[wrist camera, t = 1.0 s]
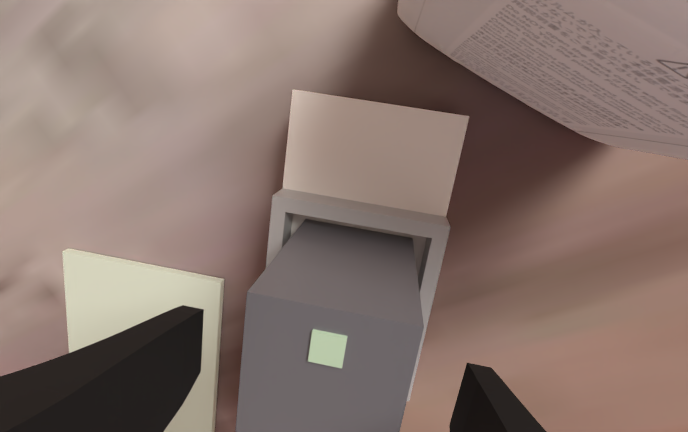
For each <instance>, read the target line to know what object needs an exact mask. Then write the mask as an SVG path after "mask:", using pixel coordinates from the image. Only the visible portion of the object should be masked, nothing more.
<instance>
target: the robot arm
mask: <svg viewBox="0 0 688 432" xmlns="http://www.w3.org/2000/svg"><path fill="white" fill-rule="evenodd" d="M203 314H204V309H199V308H194V307H189V306H184V305H182V306H179V307H176V308H174V309H171V310H169V311H167V312H164V313H162V314H160V315H158V316H155V317H153V318H151V319H149V320H147V321H144V322H142V323H140V324H138V325H135V326H133V327H131V328H129V329H126V330H124V331H122V332H120V333H117V334H115V335H113V336H110V337H108V338H106V339H103V340H101V341H98V342H96V343H93V344H91V345H88V346H86V347H83V348H81V349H78V350H76V351H73V352H71V353H68V354H66V355H63V356H61V357H58V358H55V359H52V360H50V361H47V362H44V363H41V364H38V365H35V366H32V367H29V368H26V369H23V370H20V371H17V372H14V373H11V374H7V375H4V376H1V377H0V432H164V430H165V429H166V427H167V426H168V425H169V423H170V422H171V420H172V419H173V418H174V416H175V415H176V413H177V412H178V411H179V409H180V408H181V406H182V405H183V403H184V401H185V400H186V398H187V396H188V394H189V393H190V391H191V389H192V387H193V385H194V383H195V382H196V380H197V378H198V376H199V374H200V372H201V358H202V336H203ZM450 432H546V431H545V430H544V429H543V427H542V426H541V425H540V424H539V423H538V422H537V421H536V420H535V418H534V417H533V416H532V415H531V414H530V413H529V411H528V410H527V409H526V408H525V407H524V406H523V404H522V403H521V402H520V401H519V400H518V398H517V397H516V396H515V395H514V394H513V393H512V391H511V390H510V389H509V388H508V387H507V385H506V384H505V383H504V382H503V381H502V379H501V378H500V377H499V376H498V375H497V374H496V373H495V372H494V370H493V369H492V368H490V367H485V366H480V365H475V364H470V363H467V365H466V369H465V372H464V376H463V379H462V383H461V387H460V390H459V394H458V397H457V401H456V404H455V408H454V411H453V415H452V418H451V422H450Z"/></svg>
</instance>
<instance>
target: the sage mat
mask: <svg viewBox="0 0 688 432" xmlns="http://www.w3.org/2000/svg"><path fill="white" fill-rule="evenodd" d="M62 253H63V268H64V283H65V298H66V313H67V328H68V343H69V353H71V352H73V351H76V350H78V349H81V348H83V347H86V346H88V345H91V344H93V343H96V342H98V341H101V340H103V339H106V338H108V337H110V336H113V335H115V334H117V333H120V332H122V331H124V330H126V329H129V328H131V327H133V326H135V325H138V324H140V323H142V322H144V321H147V320H149V319H151V318H153V317H155V316H158V315H160V314H162V313H164V312H167V311H169V310H171V309H174V308H176V307H179V306H182V305H184V306H189V307H194V308H199V309H204V314H203V336H202V358H201V372H200V374H199V376H198V378H197V380H196V382H195V383H194V385H193V387H192V389H191V391H190V393H189V394H188V396H187V398H186V400H185V401H184V403H183V405H182V406H181V408H180V409H179V411H178V412H177V413H176V415H175V416H174V418H173V419H172V420H171V422H170V423H169V425H168V426H167V427H166V429H165V430H164V432H215V419H216V403H217V388H218V372H219V356H220V340H221V325H222V309H223V293H224V279H222V278H217V277H212V276H207V275H202V274H197V273H192V272H187V271H181V270H176V269H171V268H166V267H161V266H156V265H151V264H146V263H141V262H136V261H131V260H125V259H120V258H115V257H110V256H105V255H100V254H95V253H90V252H85V251H80V250H75V249H66V250H64V251H62Z"/></svg>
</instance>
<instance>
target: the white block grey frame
mask: <svg viewBox="0 0 688 432" xmlns="http://www.w3.org/2000/svg"><path fill="white" fill-rule="evenodd" d="M468 120H469V116H465V115H458V114H452V113H445V112H439V111H432V110H426V109H419V108H413V107H406V106H399V105H393V104H386V103H380V102H373V101H367V100H360V99H354V98H347V97H341V96H334V95H328V94H321V93H314V92H308V91H301V90H295V89H293V91H292V101H291V110H290V120H289V130H288V139H287V149H286V159H285V168H284V178H283V188H282V189H281V190H279V191H278V192H277V193H275V194H274V195H273V196H272V207H271V217H270V227H269V238H268V248H267V259H266V268H267V266H268V265H269V264H270V263H271V261H272V260H273V259H274V258H275V256H276V255H277V254H278V253H279V251H280V250H281V249H282V248H283V246H284V245H285V244H286V243H287V241H288V240H289V239H290V238H291V236H292V235H293V234H294V233H295V231H296V230H297V229H298V228H299V227H300V225H301V224H302V223H303V222H304V220H305V219H310V220H316V221H321V222H327V223H332V224H338V225H343V226H349V227H354V228H360V229H366V230H371V231H377V232H382V233H388V234H393V235H399V236H404V237H410V238H413V245H414V253H415V261H416V269H417V276H418V284H419V292H420V300H421V307H422V315H423V323H424V329H423V333H422V338H421V342H420V346H419V350H418V355H417V359H416V363H415V367H414V372H413V376H412V380H411V384H410V389H409V393H408V397H407V401H409V400H410V396H411V391H412V387H413V383H414V379H415V375H416V370H417V366H418V362H419V358H420V354H421V349H422V345H423V341H424V337H425V332H426V328H427V324H428V320H429V316H430V311H431V307H432V303H433V299H434V295H435V290H436V286H437V282H438V278H439V274H440V269H441V265H442V261H443V257H444V253H445V248H446V244H447V240H448V236H449V232H450V227H451V226H450V224H449V222H448V220H447V218H446V215H447V211H448V206H449V202H450V198H451V194H452V189H453V185H454V181H455V176H456V172H457V168H458V163H459V159H460V155H461V151H462V146H463V142H464V138H465V133H466V129H467V125H468Z"/></svg>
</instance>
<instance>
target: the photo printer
mask: <svg viewBox="0 0 688 432" xmlns="http://www.w3.org/2000/svg"><path fill="white" fill-rule="evenodd" d="M397 14H398V16H399V18H400V19H401V20H402V21H403V22H404V23H405V24H406V25H407V26H408V27H409V28H410V29H411V30H412V31H413V32H414V33H416V34H417V35H418V36H419V37H420V38H422V39H423V40H424V41H426V42H427V43H429V44H430V45H432V46H433V47H435V48H436V49H438V50H439V51H441V52H442V53H444V54H445V55H447V56H448V57H450V58H451V59H452V60H453V61H455V62H458V63H459V64H461V65H462V66H464V67H466V68H467V69H469V70H470V71H472V72H474V73H475V74H477V75H478V76H480V77H482V78H483V79H485V80H486V81H488V82H490V83H491V84H493V85H495V86H496V87H498V88H500V89H501V90H503V91H505V92H506V93H508V94H510V95H512V96H513V97H515V98H517V99H518V100H520V101H522V102H523V103H525V104H526V105H528V106H530V107H531V108H533V109H535V110H537V111H539V112H540V113H542V114H544V115H546V116H547V117H549V118H551V119H553V120H555V121H556V122H558V123H560V124H562V125H564V126H566V127H567V128H569V129H571V130H573V131H575V132H577V133H579V134H581V135H583V136H585V137H587V138H590V139H593V140H595V141H598V142H601V143H604V144H607V145H610V146H614V147H618V148H623V149H629V150H635V151H641V152H646V153H652V154H658V155H663V156H669V157H674V158H680V159H685V160H688V0H398V8H397Z"/></svg>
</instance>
